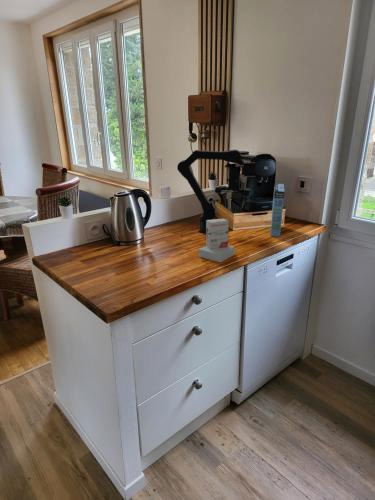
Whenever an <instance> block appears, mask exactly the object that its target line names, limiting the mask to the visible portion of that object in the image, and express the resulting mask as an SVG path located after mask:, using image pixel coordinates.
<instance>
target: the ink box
mask: <svg viewBox="0 0 375 500" xmlns="http://www.w3.org/2000/svg"><path fill="white" fill-rule="evenodd" d="M229 223H230V222H229V220H228V219H226V218H217V219H216V218H215V219H214V218H212V220H206V233H205V234H206V235H205V238H206V239H205V240H206V243H205V246H207V247H208V248H209V249H214V248H222V247H228V246H229Z"/></svg>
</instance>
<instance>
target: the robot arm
mask: <svg viewBox="0 0 375 500" xmlns="http://www.w3.org/2000/svg"><path fill="white" fill-rule="evenodd" d="M200 159H201V160H214V161H215V160H218V161H225V162H226V164H224V168H228V174H227V175H228V178H227V179H226V182H227V185H219V186H215V189H214V193H215V194H217V195H218V196H219V198H220V200H221V202H222V205H223V207H224V208H225V207H227V195H228V193H233V194H240V195H241V196H239V197H240V199H239V201H240V203H239V205H240V210H242V209H244V205H245V202H246V201H247V198H250V197H251V196H253V195H254V189H252V188H247V187H245V185H246V183H245V182H244V181H242V177H241V175H242V176H243V178H244V177H246V178H247V177H248V178H251V177H252V178H256V175H257V168H256V167H257V165H256V164H257V162H254V161H253V162H252V161H251V162H245V161H244V160H243V158H242V153H241V151H240V150H238V149H229V150H223V151H218V150H217V151H215V150H214V151H213V150H199V149H196V150H194V151H193V152H192V153H191V154H190V155H189V156H188V157H186V159H184V160H181V161H180V162H179V163H178V164H177V166H176V167H177V171H178V172H179V173H180V175H181V176H182V177H183V178H184V179H185V180H186V181H187V182H188V184H189V187H190V188H191V189H192V191H193V193H194V195H195V196H196V198H197V199H198V201H199V203H200V205H201V209H202V211H203V212H202V214H201V215H200V219H199V230H198V231H197V232H198V233H203V234H206V220H213V219H214V218H215V217H216V214H217V206H216V205H215V202H214V200H211V201H210V200H209V199H208V197H207V195H206V194H205V192H204V191H203V189H202V187H201V186H200V183H199V182H198V180H197V178H196V176H195V175H194V174H195V173H194V170H193V167H192V165H193V164H194V163H195V162H196V161H197V160H200ZM236 164H237V165H236Z"/></svg>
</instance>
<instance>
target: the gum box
mask: <svg viewBox="0 0 375 500" xmlns="http://www.w3.org/2000/svg"><path fill="white" fill-rule="evenodd" d="M273 189H274V190H273V199H272V209H271V210H272V211H271V220H270V221H271V222H270V223H271V224H270V237H274V238H275V237H276V238H280V237H281V232H282V231H281V229H282V220H283V210H284V200H285V194H286V193H285V192H286V191H285V184H284V183H274V187H273Z"/></svg>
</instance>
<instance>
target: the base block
mask: <svg viewBox="0 0 375 500" xmlns="http://www.w3.org/2000/svg"><path fill="white" fill-rule="evenodd" d="M234 255H235V246H231V245H228V247H222V248H214V249H209V248H208V247H207V246H206V245H204V246H203V247H201V248H199V249H198V257H199V258H202V259H206V260H211V261H213V262H218V263H220V262H221V263H222V262H224V261H225V260H227V259H229V258H231V257H232V256H234Z"/></svg>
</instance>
